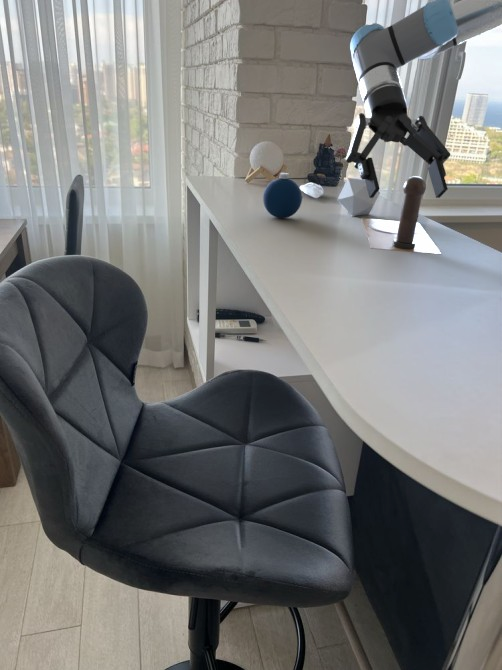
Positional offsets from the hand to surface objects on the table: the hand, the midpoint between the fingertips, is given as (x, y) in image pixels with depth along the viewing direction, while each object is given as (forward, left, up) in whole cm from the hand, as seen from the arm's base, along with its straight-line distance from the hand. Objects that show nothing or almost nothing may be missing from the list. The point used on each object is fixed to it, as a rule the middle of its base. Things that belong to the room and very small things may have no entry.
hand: (408, 193), depth 91 cm
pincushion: (+17, -43, -10) cm, 48 cm away
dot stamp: (0, +2, -9) cm, 9 cm away
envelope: (-1, -7, -10) cm, 12 cm away
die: (+6, -25, -10) cm, 28 cm away
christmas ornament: (+23, -15, -10) cm, 30 cm away
